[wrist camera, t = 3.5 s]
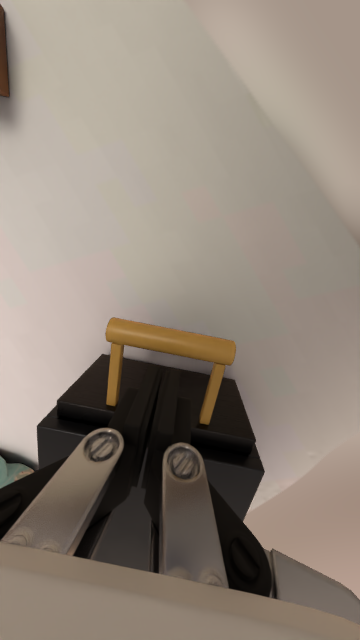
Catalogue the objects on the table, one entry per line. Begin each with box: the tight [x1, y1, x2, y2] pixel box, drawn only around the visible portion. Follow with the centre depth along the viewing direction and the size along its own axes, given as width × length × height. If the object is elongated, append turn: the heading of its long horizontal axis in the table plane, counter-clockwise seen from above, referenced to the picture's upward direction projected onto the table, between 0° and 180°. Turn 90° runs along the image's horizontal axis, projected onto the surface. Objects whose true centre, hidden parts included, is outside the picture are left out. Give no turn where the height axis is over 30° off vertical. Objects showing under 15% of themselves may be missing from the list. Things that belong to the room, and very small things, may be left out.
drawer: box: [57, 318, 256, 454], centre depth 16 cm, size 20×12×6 cm, turn 170°
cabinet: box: [37, 405, 265, 571], centre depth 17 cm, size 16×14×8 cm
